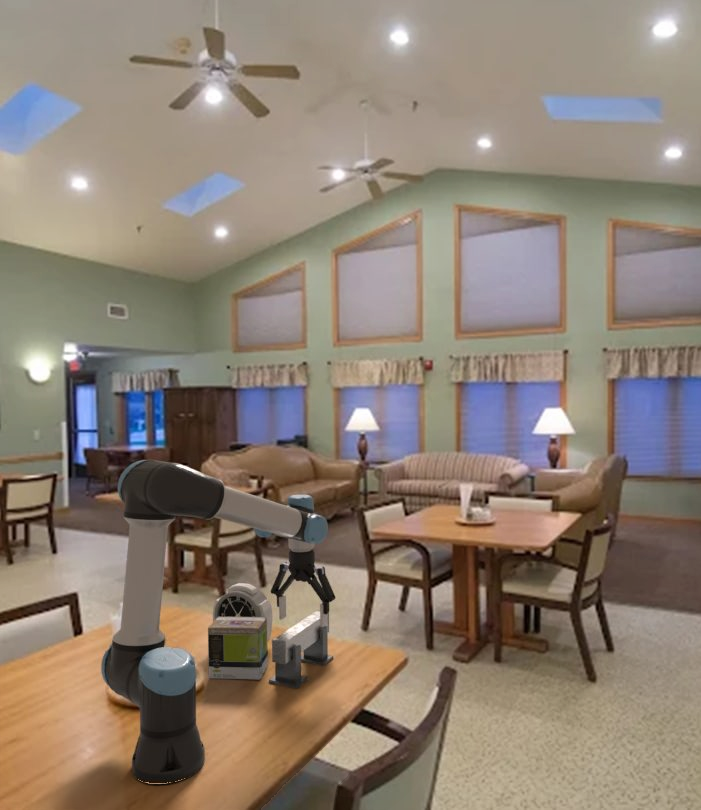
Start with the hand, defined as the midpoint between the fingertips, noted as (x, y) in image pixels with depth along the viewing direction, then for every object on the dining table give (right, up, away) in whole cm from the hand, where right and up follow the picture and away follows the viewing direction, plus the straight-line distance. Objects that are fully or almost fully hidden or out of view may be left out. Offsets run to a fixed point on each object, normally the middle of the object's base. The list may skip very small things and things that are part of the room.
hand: (302, 621), depth 182 cm
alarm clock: (-20, -14, +16) cm, 29 cm away
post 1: (-4, -14, -7) cm, 16 cm away
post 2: (+3, -14, +7) cm, 16 cm away
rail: (0, -7, 0) cm, 7 cm away
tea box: (-18, -14, -1) cm, 23 cm away
